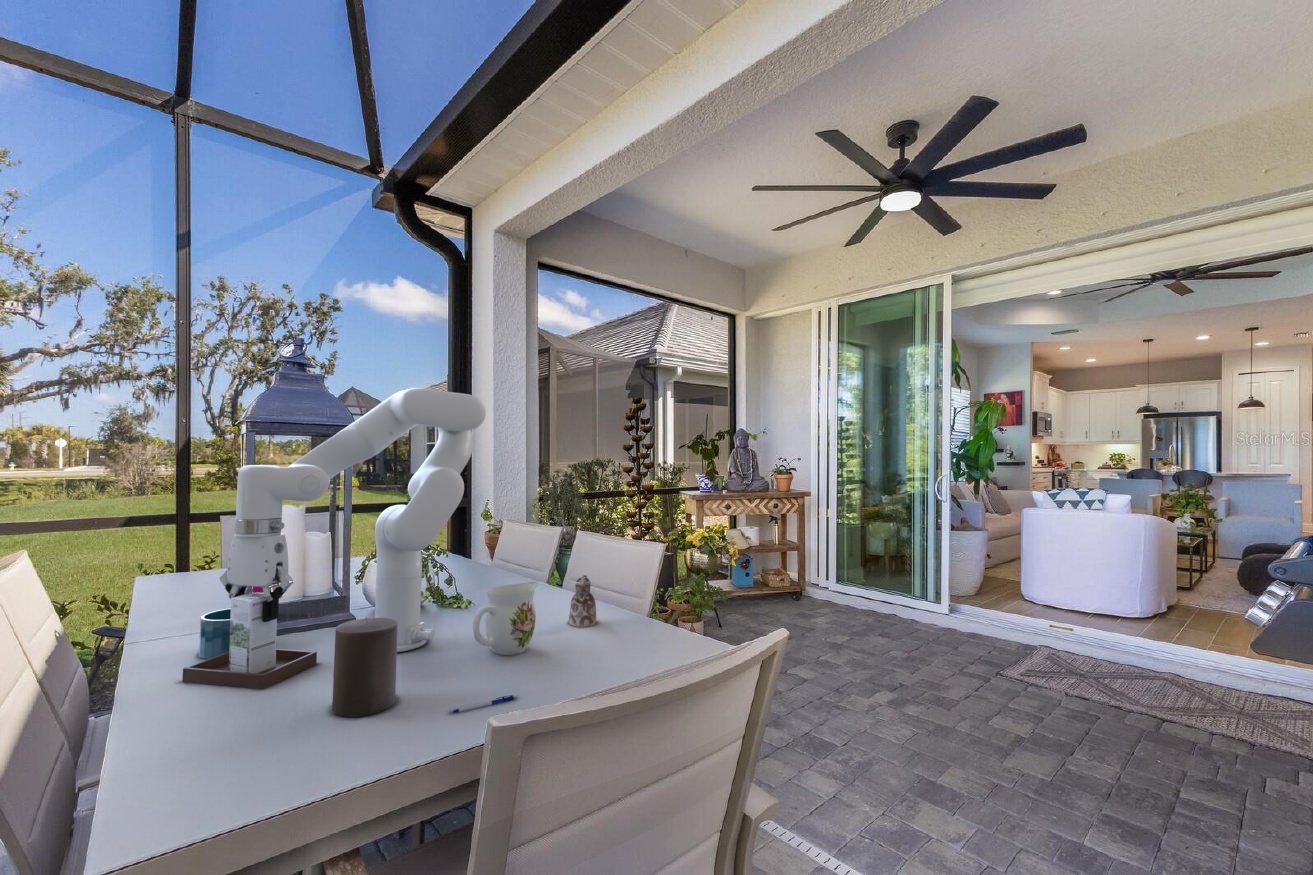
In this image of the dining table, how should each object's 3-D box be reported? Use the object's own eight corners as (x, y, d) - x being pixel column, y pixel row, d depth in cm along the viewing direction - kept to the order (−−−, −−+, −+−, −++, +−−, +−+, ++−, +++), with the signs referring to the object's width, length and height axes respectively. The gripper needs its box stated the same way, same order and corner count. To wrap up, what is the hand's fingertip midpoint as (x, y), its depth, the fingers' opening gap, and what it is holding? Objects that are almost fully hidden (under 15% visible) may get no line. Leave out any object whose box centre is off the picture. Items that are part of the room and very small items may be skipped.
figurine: (565, 625, 147) (566, 578, 147) (573, 618, 154) (574, 573, 154) (591, 627, 146) (592, 580, 146) (599, 620, 153) (600, 574, 153)
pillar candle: (353, 723, 91) (356, 628, 92) (320, 708, 97) (323, 618, 97) (407, 701, 100) (410, 615, 100) (374, 689, 105) (377, 606, 105)
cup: (275, 644, 129) (277, 608, 129) (231, 661, 118) (232, 622, 118) (232, 641, 131) (234, 605, 131) (184, 657, 120) (186, 618, 120)
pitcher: (456, 657, 122) (458, 592, 123) (519, 636, 137) (521, 578, 138) (490, 668, 116) (492, 600, 117) (553, 645, 131) (554, 585, 132)
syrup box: (277, 666, 114) (280, 593, 114) (247, 677, 108) (250, 599, 109) (256, 663, 116) (259, 590, 116) (226, 673, 110) (229, 597, 111)
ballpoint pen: (512, 699, 102) (512, 693, 102) (514, 700, 101) (514, 694, 102) (452, 713, 96) (452, 707, 96) (454, 715, 95) (454, 709, 95)
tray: (316, 664, 117) (317, 651, 117) (262, 689, 104) (263, 675, 104) (243, 658, 120) (244, 646, 120) (182, 681, 107) (182, 668, 107)
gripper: (311, 526, 116) (308, 616, 115) (237, 524, 118) (233, 611, 118) (281, 531, 108) (277, 627, 107) (203, 528, 111) (198, 621, 110)
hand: (254, 618), depth 112 cm, fingers closed on syrup box, 6 cm apart
